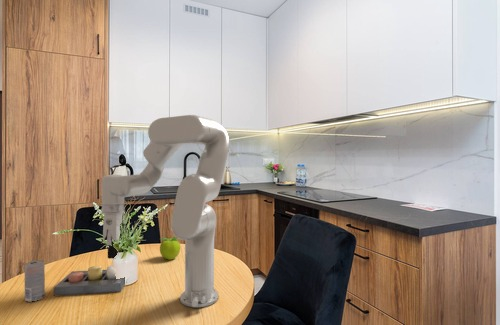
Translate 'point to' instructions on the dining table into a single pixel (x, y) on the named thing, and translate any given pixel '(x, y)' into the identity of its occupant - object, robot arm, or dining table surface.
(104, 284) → the grey compartment tray
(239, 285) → the dining table surface
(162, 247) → the fruit
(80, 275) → the brick button
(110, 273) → the ivory button
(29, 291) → the energy drink
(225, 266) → the dining table surface
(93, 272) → the mustard button
